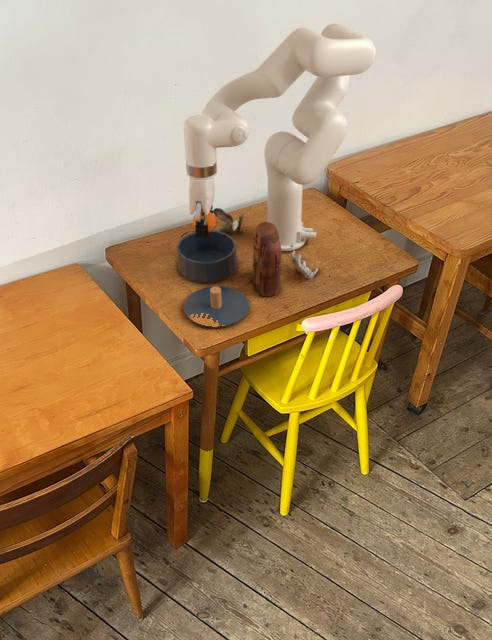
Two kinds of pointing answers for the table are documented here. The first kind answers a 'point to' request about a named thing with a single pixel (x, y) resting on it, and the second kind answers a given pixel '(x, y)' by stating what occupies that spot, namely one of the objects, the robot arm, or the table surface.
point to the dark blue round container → (207, 257)
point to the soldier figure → (303, 266)
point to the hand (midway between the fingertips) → (204, 229)
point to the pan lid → (217, 305)
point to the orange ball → (208, 221)
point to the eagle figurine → (227, 221)
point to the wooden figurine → (267, 259)
